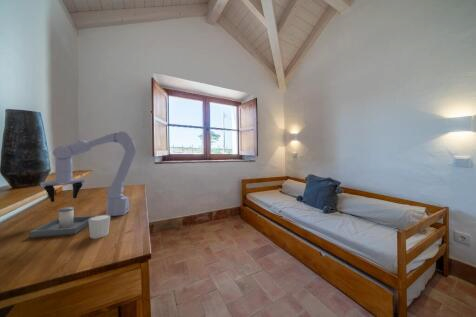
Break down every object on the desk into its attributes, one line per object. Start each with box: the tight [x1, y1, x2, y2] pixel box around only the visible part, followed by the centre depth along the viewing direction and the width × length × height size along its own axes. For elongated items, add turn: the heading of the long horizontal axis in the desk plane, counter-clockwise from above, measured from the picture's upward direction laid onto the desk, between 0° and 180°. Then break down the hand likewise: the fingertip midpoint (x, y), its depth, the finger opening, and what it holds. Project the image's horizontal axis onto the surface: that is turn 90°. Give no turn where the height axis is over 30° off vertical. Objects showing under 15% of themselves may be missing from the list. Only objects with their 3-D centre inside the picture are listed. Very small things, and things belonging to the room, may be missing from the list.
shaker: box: [58, 206, 75, 229], centre depth 71 cm, size 5×5×8 cm
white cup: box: [88, 214, 111, 239], centre depth 66 cm, size 7×7×7 cm
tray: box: [29, 215, 96, 239], centre depth 71 cm, size 14×14×2 cm
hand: (64, 199), depth 80 cm, fingers open, 7 cm apart
